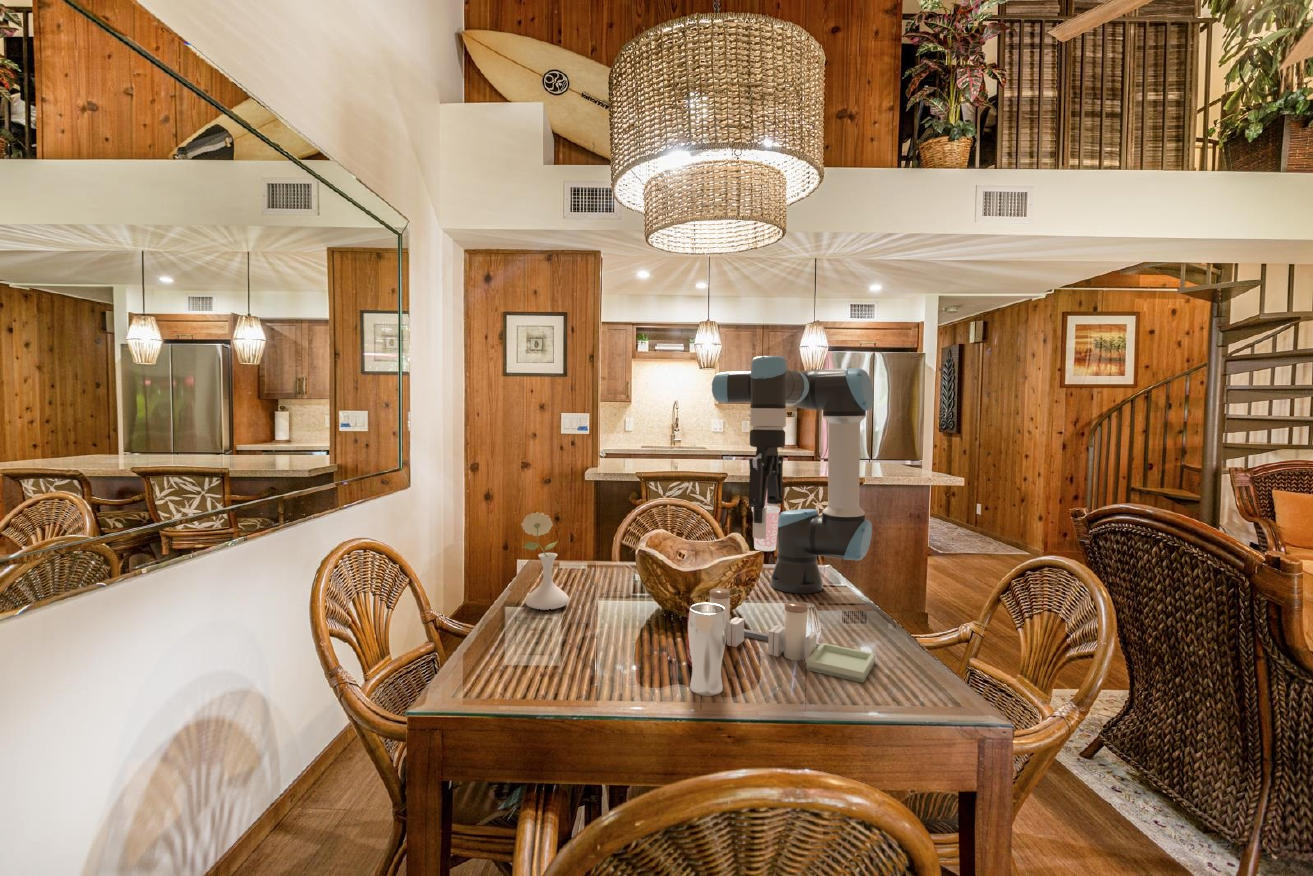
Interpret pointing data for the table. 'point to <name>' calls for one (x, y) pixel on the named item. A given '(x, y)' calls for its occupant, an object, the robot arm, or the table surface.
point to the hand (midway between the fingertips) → (765, 535)
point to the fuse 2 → (795, 630)
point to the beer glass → (706, 647)
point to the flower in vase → (547, 591)
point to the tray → (841, 662)
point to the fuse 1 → (721, 601)
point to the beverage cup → (769, 530)
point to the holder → (766, 637)
